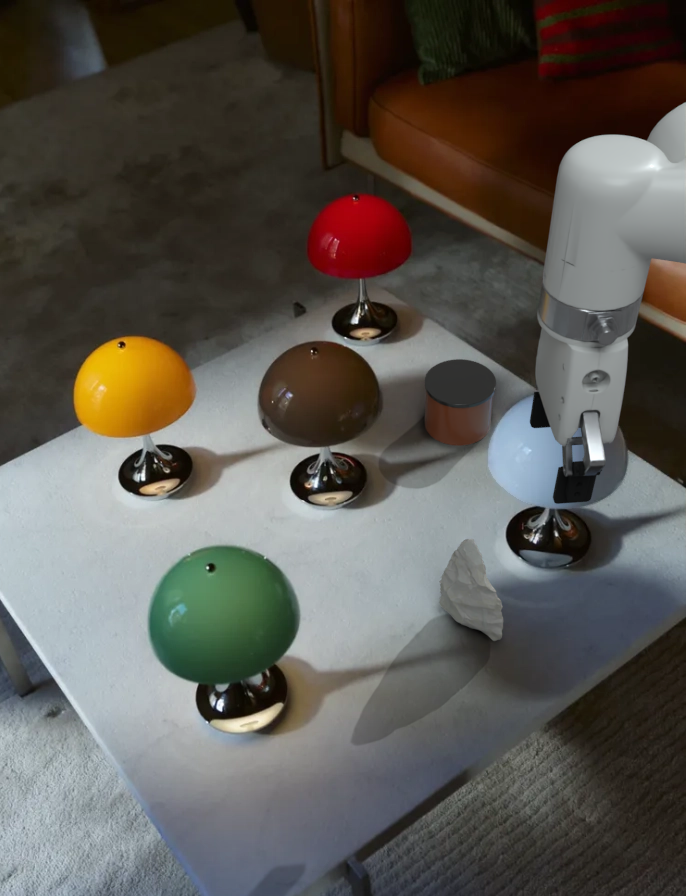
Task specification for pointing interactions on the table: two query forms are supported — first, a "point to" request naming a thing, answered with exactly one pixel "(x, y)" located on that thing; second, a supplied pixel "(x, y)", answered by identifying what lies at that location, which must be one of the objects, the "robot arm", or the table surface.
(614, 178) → the robot arm
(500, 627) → the stone tool
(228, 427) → the table surface
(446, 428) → the canister
